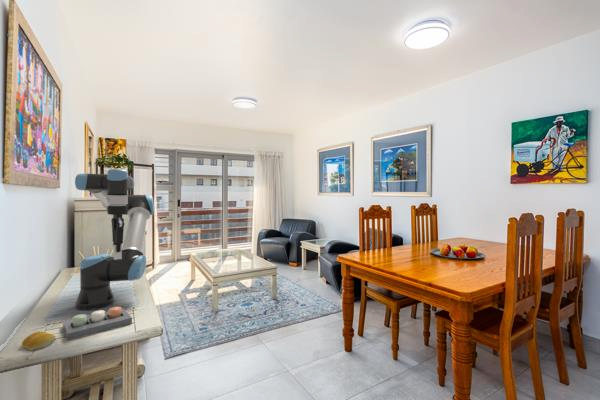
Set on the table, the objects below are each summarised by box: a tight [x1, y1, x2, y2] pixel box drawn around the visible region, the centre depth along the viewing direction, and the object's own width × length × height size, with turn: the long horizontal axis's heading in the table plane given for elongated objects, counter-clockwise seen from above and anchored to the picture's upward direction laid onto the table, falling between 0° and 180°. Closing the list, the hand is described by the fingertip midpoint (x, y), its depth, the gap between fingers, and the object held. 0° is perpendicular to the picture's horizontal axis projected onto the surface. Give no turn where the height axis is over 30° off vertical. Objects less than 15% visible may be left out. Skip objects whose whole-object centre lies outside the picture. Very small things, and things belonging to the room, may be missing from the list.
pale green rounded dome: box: [72, 313, 88, 328], centre depth 117 cm, size 4×4×4 cm
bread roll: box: [21, 330, 56, 351], centre depth 106 cm, size 8×9×4 cm
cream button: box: [90, 309, 106, 324], centre depth 121 cm, size 4×4×4 cm
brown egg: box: [108, 306, 122, 319], centre depth 125 cm, size 4×4×4 cm
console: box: [62, 307, 133, 341], centre depth 121 cm, size 14×21×2 cm, turn 134°
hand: (117, 258), depth 130 cm, fingers closed
